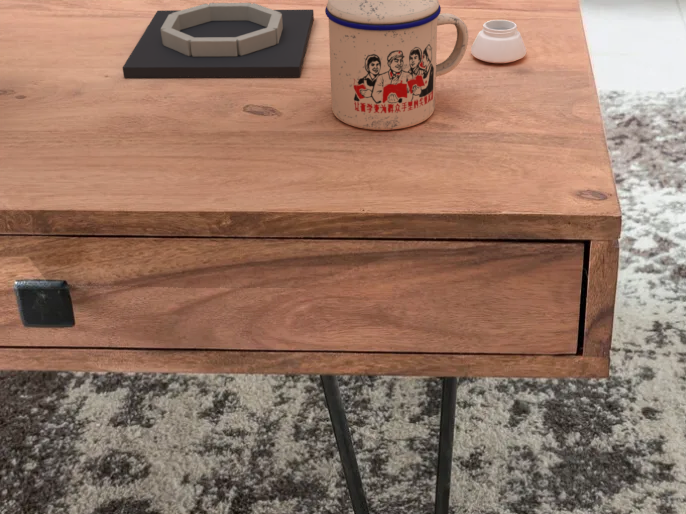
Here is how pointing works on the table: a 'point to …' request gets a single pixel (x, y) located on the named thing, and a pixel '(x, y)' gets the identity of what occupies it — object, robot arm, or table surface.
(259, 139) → the table surface
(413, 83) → the teacup with lid
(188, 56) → the base pad
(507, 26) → the white jar
